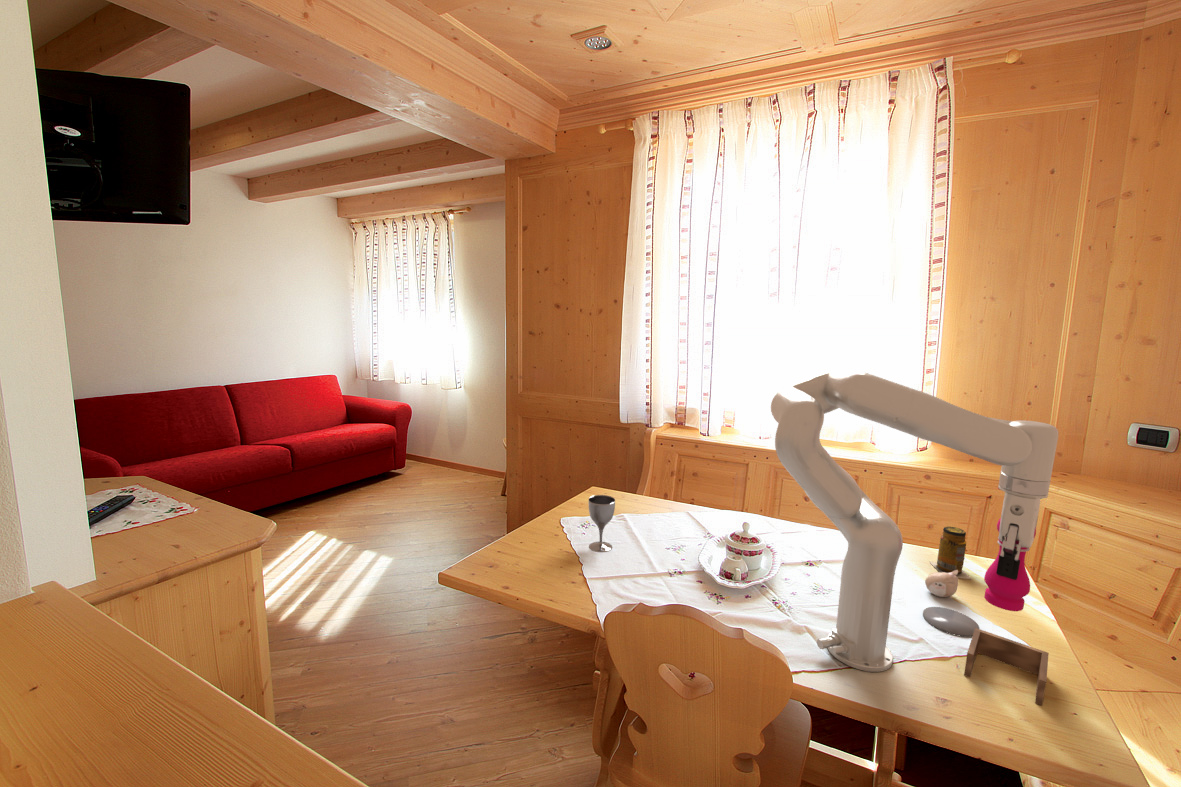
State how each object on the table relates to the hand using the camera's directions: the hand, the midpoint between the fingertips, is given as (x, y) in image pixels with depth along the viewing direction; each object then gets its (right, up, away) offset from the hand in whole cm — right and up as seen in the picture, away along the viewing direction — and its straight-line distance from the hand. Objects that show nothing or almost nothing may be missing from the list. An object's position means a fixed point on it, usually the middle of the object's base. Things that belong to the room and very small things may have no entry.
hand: (1008, 570), depth 105 cm
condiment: (+18, -15, +44) cm, 50 cm away
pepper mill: (0, -7, +1) cm, 7 cm away
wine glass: (-81, -11, +54) cm, 98 cm away
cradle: (0, -21, +1) cm, 21 cm away
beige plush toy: (+7, -17, +31) cm, 36 cm away
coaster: (+1, -18, +19) cm, 26 cm away
